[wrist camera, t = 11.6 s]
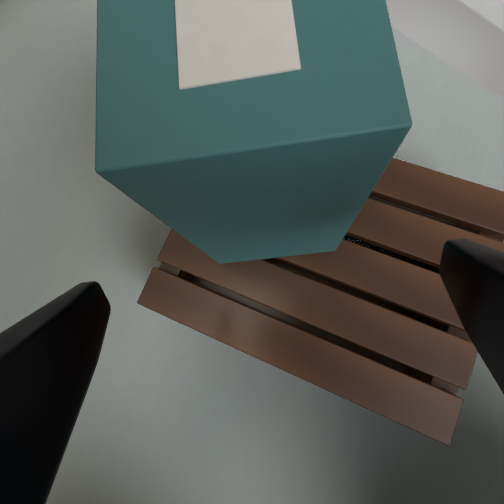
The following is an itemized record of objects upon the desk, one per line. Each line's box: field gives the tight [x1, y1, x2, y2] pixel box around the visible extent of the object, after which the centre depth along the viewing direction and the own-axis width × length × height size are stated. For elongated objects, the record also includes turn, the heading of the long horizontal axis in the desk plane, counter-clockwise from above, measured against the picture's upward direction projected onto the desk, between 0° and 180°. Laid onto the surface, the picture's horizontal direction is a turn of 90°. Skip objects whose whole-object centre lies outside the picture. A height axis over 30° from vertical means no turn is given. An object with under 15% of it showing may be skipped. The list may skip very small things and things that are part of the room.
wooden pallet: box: [137, 158, 504, 446], centre depth 19 cm, size 12×16×4 cm
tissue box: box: [95, 0, 412, 264], centre depth 12 cm, size 7×6×11 cm
